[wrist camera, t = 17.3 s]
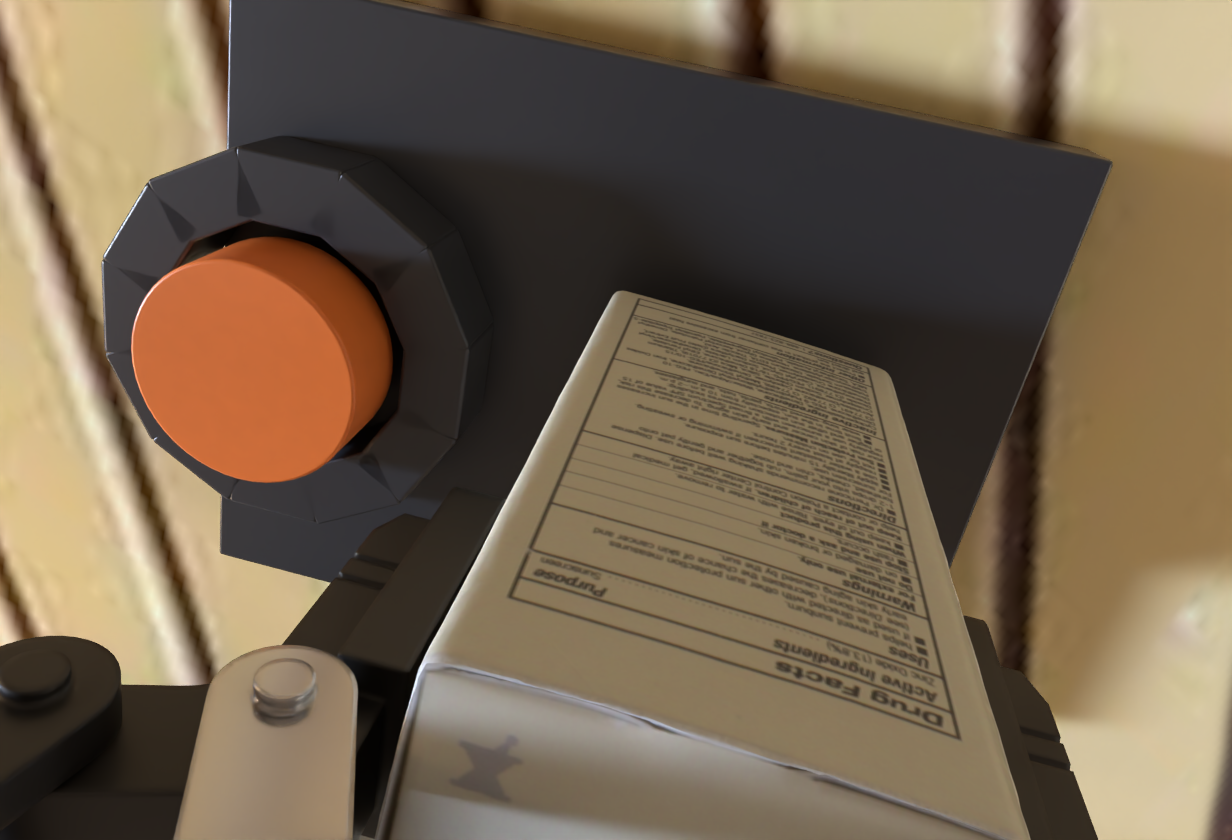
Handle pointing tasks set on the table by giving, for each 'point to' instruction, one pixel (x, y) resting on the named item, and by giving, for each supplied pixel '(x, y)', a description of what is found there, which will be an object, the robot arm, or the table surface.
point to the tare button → (262, 358)
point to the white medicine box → (706, 617)
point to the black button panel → (594, 242)
